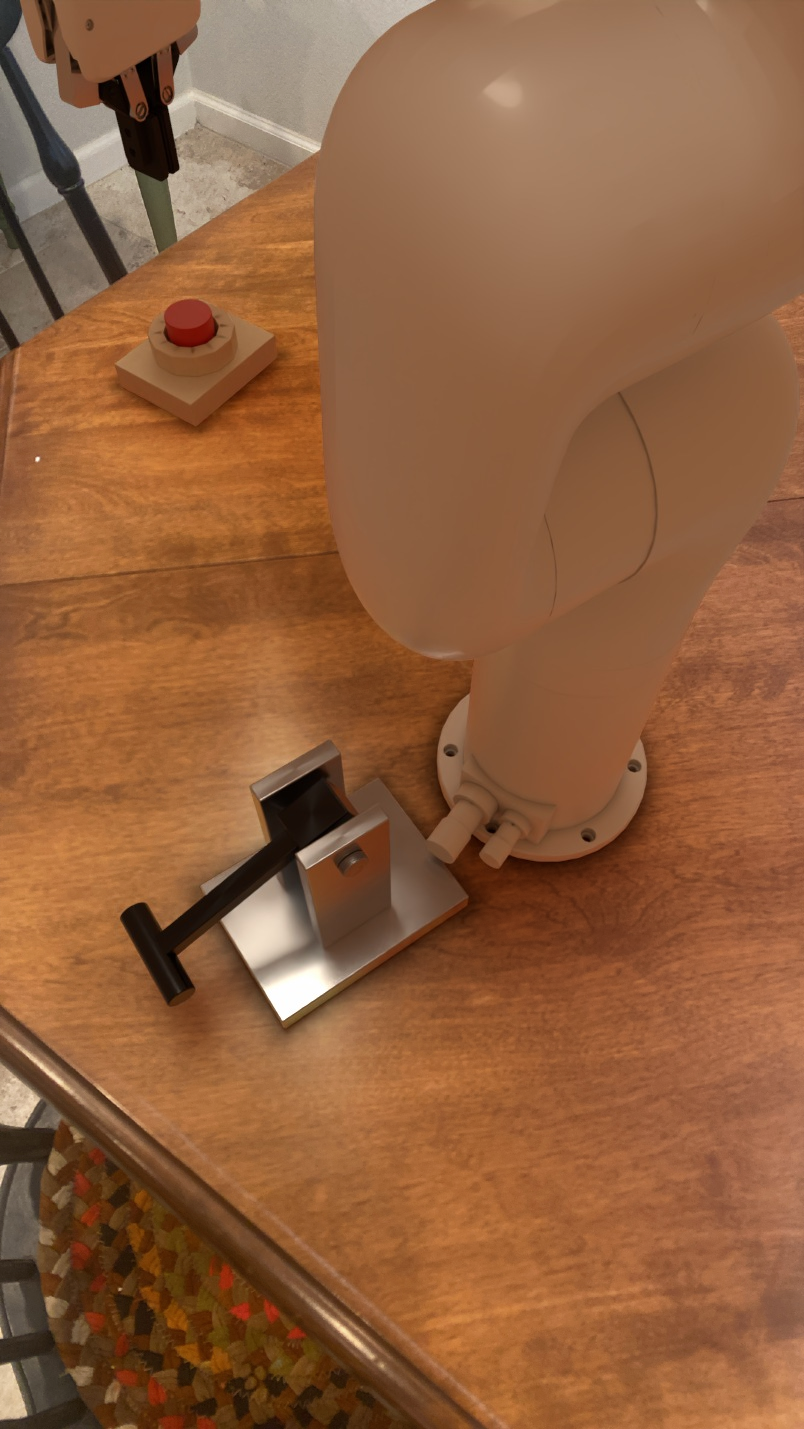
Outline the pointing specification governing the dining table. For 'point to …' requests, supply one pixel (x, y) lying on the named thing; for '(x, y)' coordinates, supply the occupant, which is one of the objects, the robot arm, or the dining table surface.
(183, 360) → the button block
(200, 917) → the lever
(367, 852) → the bracket
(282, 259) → the dining table surface
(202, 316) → the button
